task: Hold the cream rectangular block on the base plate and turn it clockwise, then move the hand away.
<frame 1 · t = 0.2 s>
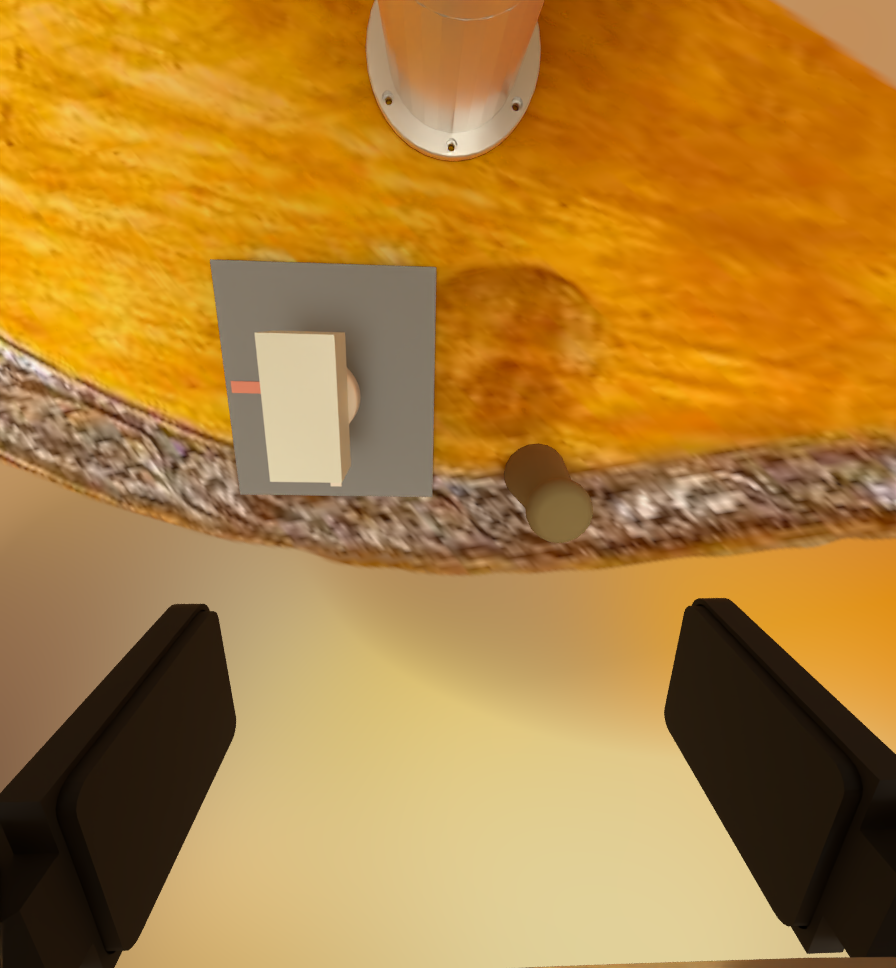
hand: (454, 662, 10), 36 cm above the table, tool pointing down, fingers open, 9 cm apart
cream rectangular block: (313, 406, 35), point 8 cm above the table, hinge at 0.0°
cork: (534, 472, 46), on the table
base plate: (334, 386, 43), on the table
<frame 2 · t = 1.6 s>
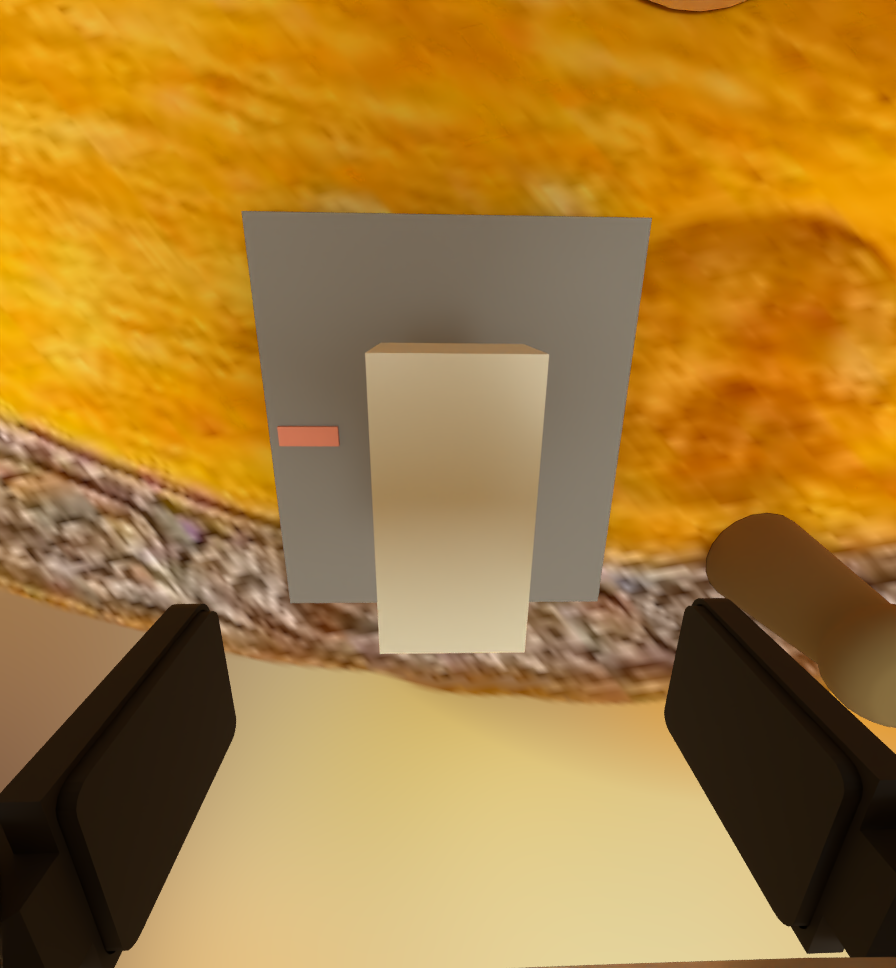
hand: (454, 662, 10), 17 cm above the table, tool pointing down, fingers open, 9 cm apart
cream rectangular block: (451, 488, 18), point 8 cm above the table, hinge at 0.0°
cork: (753, 556, 29), on the table
base plate: (446, 429, 26), on the table
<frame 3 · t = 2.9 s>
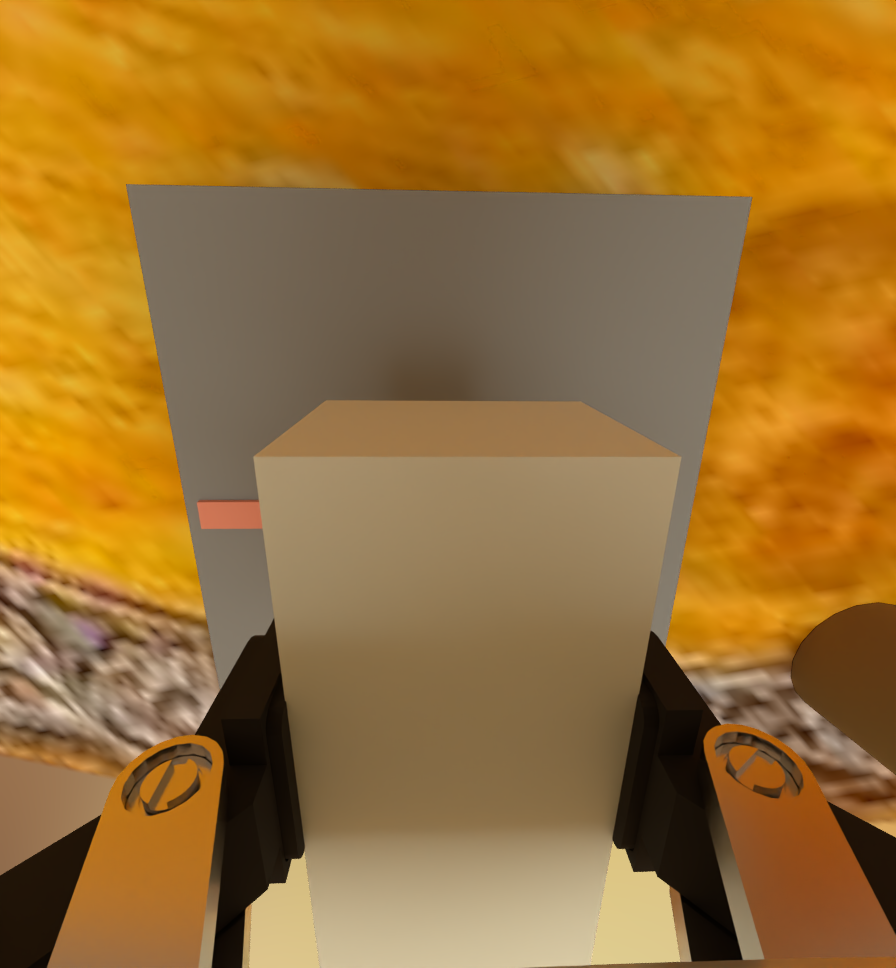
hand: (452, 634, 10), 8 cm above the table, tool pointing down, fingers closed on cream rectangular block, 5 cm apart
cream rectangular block: (452, 640, 11), point 8 cm above the table, hinge at 0.0°, touching gripper
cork: (853, 656, 22), on the table
base plate: (443, 497, 18), on the table
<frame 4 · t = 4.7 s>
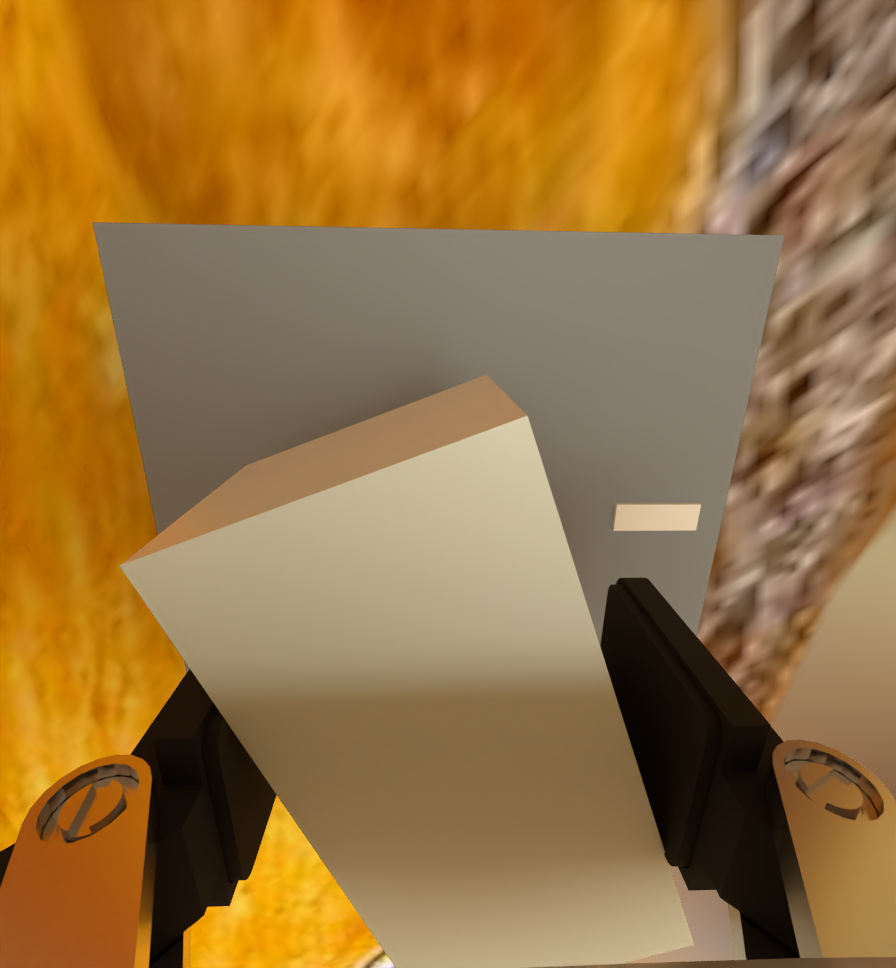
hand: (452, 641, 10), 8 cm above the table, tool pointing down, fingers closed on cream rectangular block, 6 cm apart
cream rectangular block: (457, 648, 10), point 8 cm above the table, hinge at 69.1°, touching gripper
base plate: (443, 500, 18), on the table
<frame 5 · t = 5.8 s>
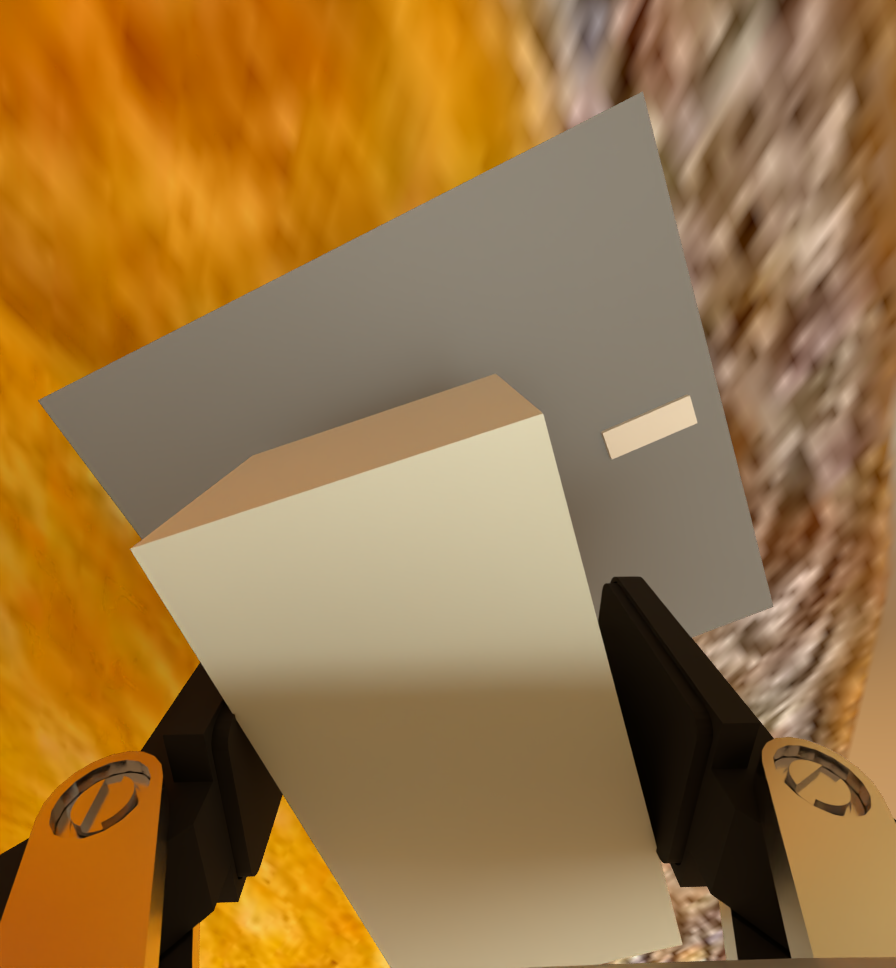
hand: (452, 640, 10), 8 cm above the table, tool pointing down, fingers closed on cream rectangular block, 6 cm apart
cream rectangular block: (456, 645, 10), point 8 cm above the table, hinge at 96.1°, touching gripper
base plate: (443, 499, 18), on the table
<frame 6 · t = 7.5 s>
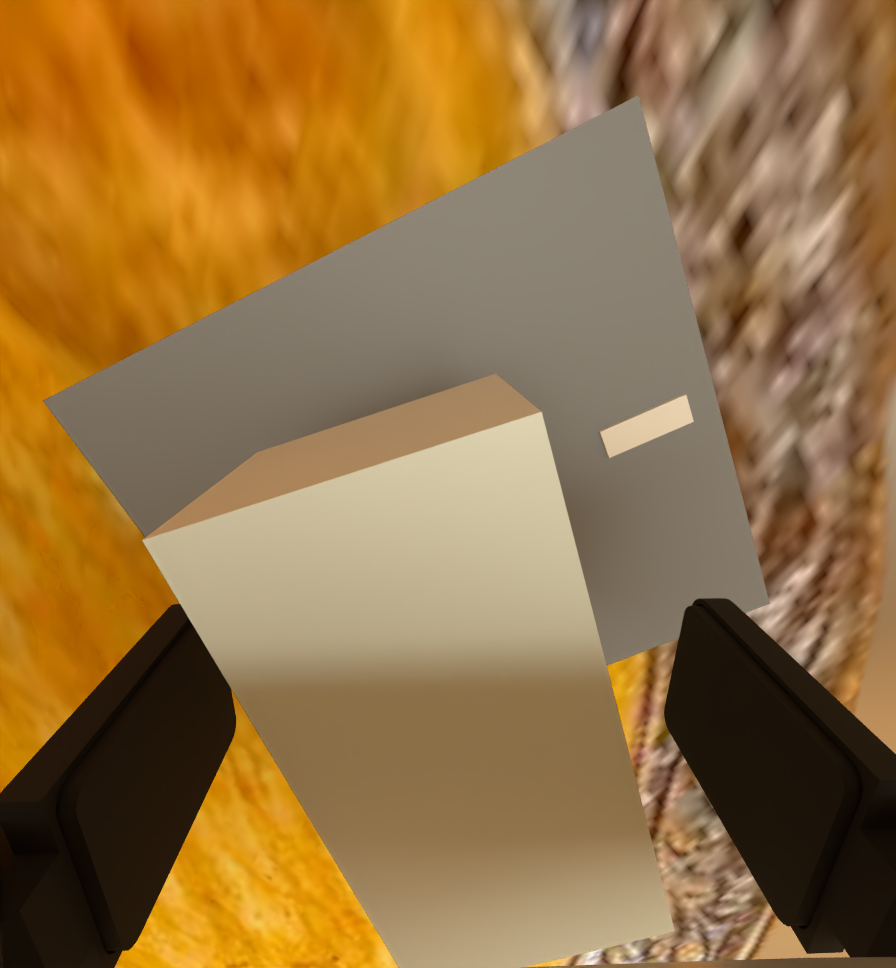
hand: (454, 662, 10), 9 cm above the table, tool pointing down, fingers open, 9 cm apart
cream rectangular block: (455, 640, 11), point 8 cm above the table, hinge at 96.6°
base plate: (442, 497, 18), on the table
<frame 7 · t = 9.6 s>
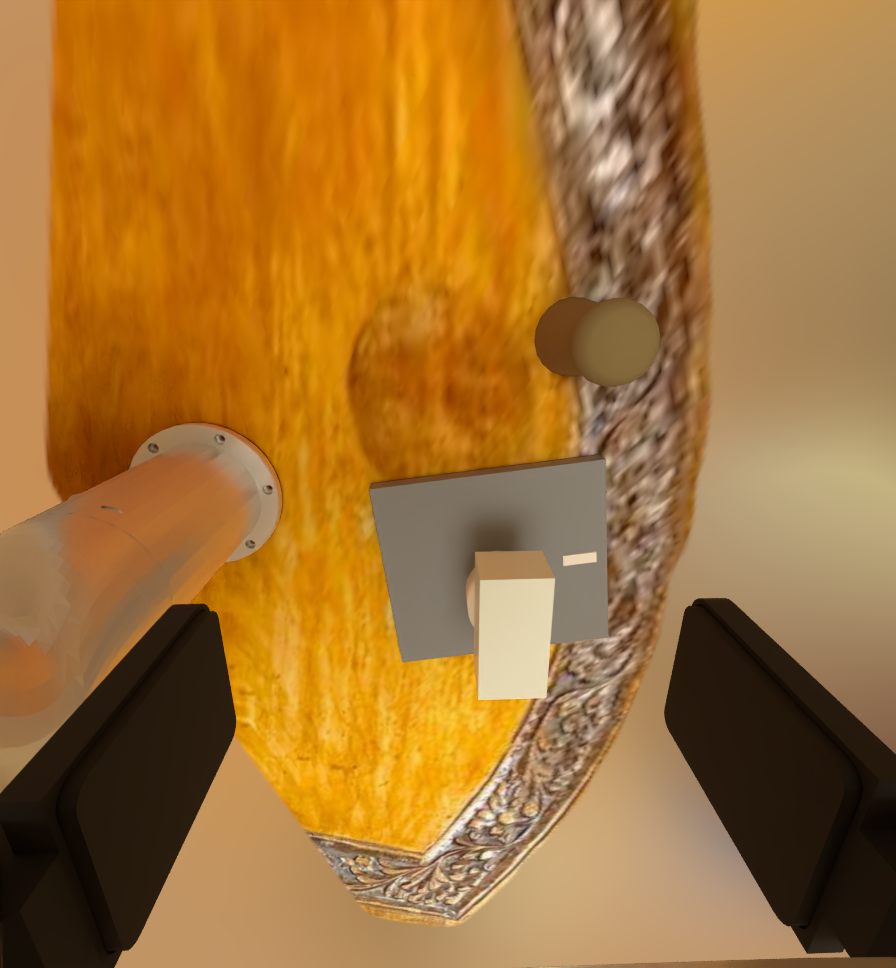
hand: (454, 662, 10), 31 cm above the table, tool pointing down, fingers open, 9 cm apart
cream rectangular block: (507, 615, 36), point 8 cm above the table, hinge at 96.6°
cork: (571, 337, 38), on the table
base plate: (494, 560, 44), on the table
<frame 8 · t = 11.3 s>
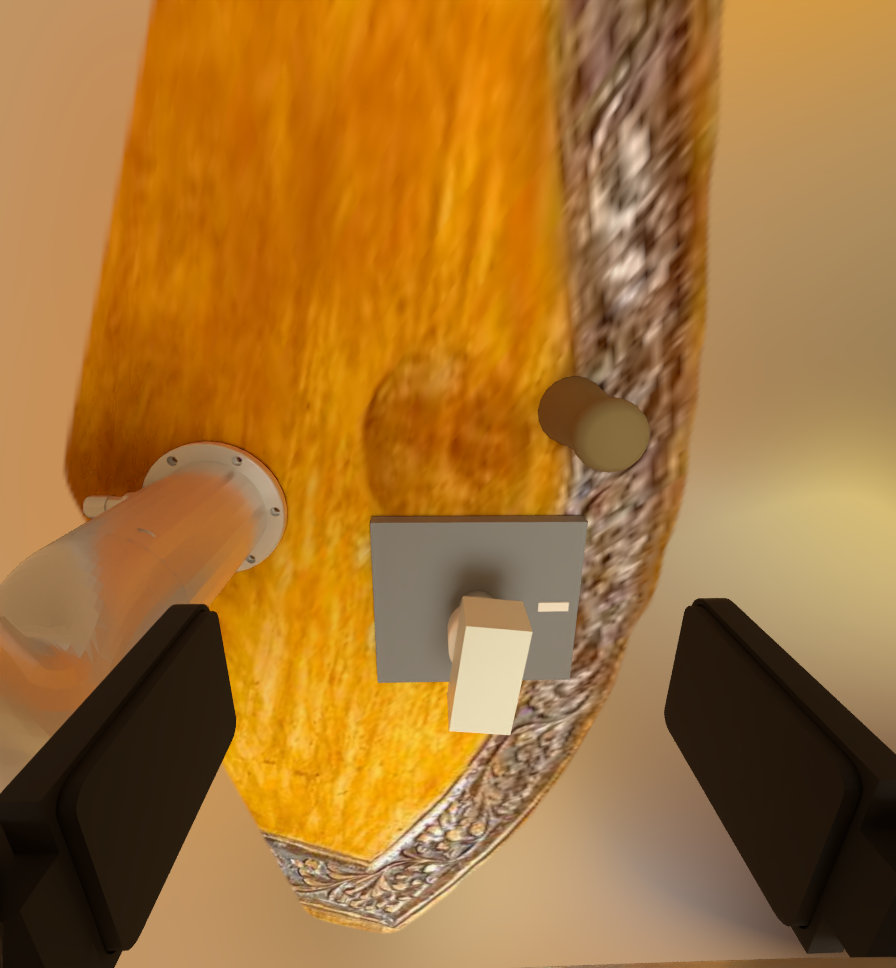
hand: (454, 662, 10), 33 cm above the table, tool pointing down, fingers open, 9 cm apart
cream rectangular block: (483, 655, 40), point 8 cm above the table, hinge at 96.6°
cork: (571, 410, 42), on the table
base plate: (475, 598, 48), on the table
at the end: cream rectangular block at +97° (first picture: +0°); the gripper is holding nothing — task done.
